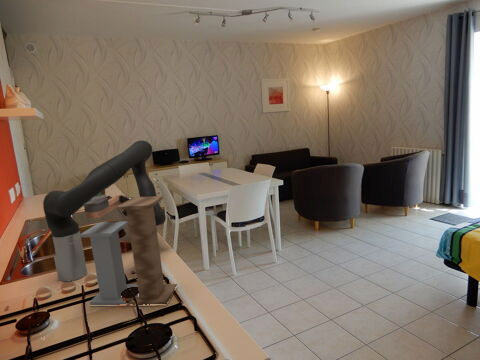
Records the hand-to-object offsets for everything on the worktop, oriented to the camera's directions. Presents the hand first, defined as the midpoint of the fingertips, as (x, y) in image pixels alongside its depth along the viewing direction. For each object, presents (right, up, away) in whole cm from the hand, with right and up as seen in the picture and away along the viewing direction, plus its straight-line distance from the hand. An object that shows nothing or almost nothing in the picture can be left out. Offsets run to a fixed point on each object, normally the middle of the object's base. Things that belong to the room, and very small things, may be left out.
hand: (113, 198), depth 116 cm
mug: (-66, -10, +139) cm, 154 cm away
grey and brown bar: (0, -3, -3) cm, 5 cm away
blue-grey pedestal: (+2, -32, -2) cm, 32 cm away
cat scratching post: (+14, -32, -4) cm, 35 cm away
